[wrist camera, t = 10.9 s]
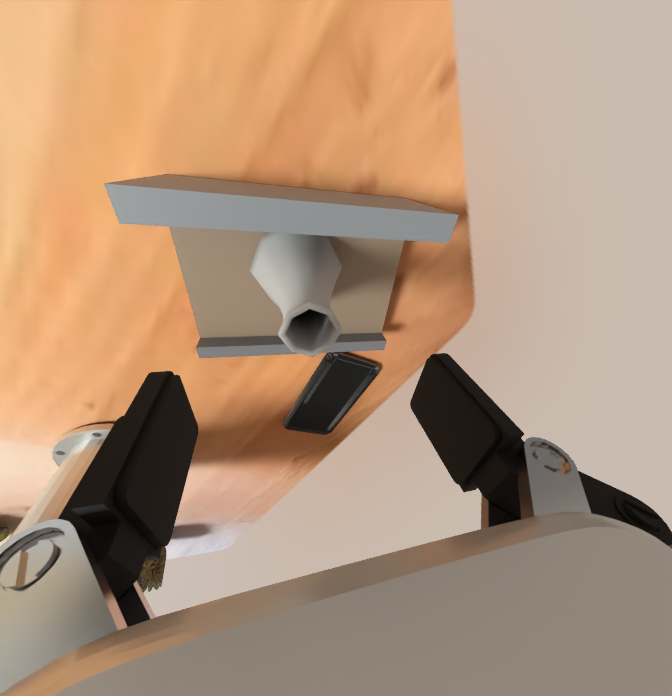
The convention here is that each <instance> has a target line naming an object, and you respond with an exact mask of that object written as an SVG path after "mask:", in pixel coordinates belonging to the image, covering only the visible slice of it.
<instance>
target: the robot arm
mask: <svg viewBox="0 0 672 696" xmlns="http://www.w3.org/2000/svg"><path fill="white" fill-rule="evenodd" d="M410 404H411V409H412V411H413V412H414V414H415V416H416V418H417V419H418V421H419V423H420V424H421V426H422V428H423V429H424V431H425V432H426V435H427V436H428V438H429V440H430V441H431V443H432V445H433V446H434V448H435V449H436V451H437V453H438V455H439V457H440V458H441V460H442V462H443V463H444V465H445V467H446V468H447V470H448V472H449V473H450V475H451V477H452V479H453V480H454V481H455V482H456V483H457V484H459V485H460V487H461V488H462V490H463V492H467V491H472V490H476V489H477V488H479V490H480V492H481V493H482V503H481V529H480V530H477V531H473V532H469V533H465V534H461V535H458V536H453V537H450V538H446V539H442V540H438V541H434V542H431V543H427V544H423V545H419V546H415V547H411V548H408V549H404V550H400V551H396V552H392V553H389V554H385V555H381V556H377V557H374V558H370V559H366V560H362V561H359V562H355V563H351V564H347V565H343V566H340V567H336V568H332V569H328V570H325V571H321V572H317V573H313V574H310V575H306V576H302V577H299V578H295V579H291V580H288V581H284V582H280V583H276V584H273V585H269V586H265V587H261V588H258V589H254V590H250V591H247V592H243V593H240V594H236V595H232V596H228V597H225V598H221V599H218V600H214V601H211V602H208V603H204V604H201V605H198V606H194V607H190V608H187V609H183V610H180V611H177V612H173V613H170V614H166V615H163V616H159V617H155V615H154V613H153V612H152V610H151V607H150V605H149V604H148V602H147V600H146V598H145V596H144V594H143V592H142V590H141V588H140V586H139V584H138V582H137V580H138V579H139V577H140V574H141V570H142V567H143V564H144V562H147V561H152V560H156V559H159V557H160V554H161V550H162V547H164V546H167V545H168V543H169V541H170V539H171V535H172V532H173V528H174V524H175V520H176V516H177V513H178V509H179V505H180V501H181V497H182V493H183V490H184V486H185V482H186V478H187V474H188V470H189V467H190V463H191V459H192V455H193V451H194V447H195V444H196V440H197V436H198V425H197V422H196V419H195V417H194V414H193V411H192V409H191V406H190V403H189V400H188V398H187V395H186V392H185V389H184V387H183V384H182V381H181V378H180V376H179V375H174V374H173V372H172V371H165V372H151V373H149V374H148V376H147V377H146V379H145V381H144V383H143V384H142V386H141V388H140V389H139V391H138V393H137V395H136V396H135V398H134V400H133V402H132V403H131V405H130V407H129V409H128V410H127V412H126V414H125V416H122V417H120V418H119V419H118V420H117V421H116V422H115V423H114V424H110V423H107V424H94V425H88V426H83V427H80V428H77V429H74V430H72V431H70V432H68V433H66V434H65V435H63V436H62V437H61V438H60V439H59V441H58V442H57V443H56V445H55V446H54V447H53V450H52V457H53V460H54V461H55V463H56V464H57V465H58V466H59V468H58V469H57V471H56V472H55V474H54V475H53V476H52V478H51V479H50V481H49V482H48V484H47V485H46V487H45V488H44V489H43V491H42V492H41V494H40V495H39V497H38V498H37V500H36V501H35V502H34V504H33V505H32V507H31V508H30V510H29V511H28V512H27V514H26V515H25V517H24V518H23V520H22V521H21V523H20V524H19V525H18V527H17V528H16V530H15V531H14V533H13V534H12V535H11V537H10V538H9V540H8V541H7V542H5V543H4V544H3V545H1V546H0V696H672V532H671V531H670V529H669V527H668V526H667V524H666V523H665V522H664V521H663V520H662V518H661V517H660V516H659V515H658V514H657V513H656V512H655V511H654V510H653V509H651V508H650V507H649V506H647V505H646V504H644V503H643V502H642V501H640V500H638V499H637V498H635V497H633V496H631V495H629V494H627V493H625V492H623V491H620V490H618V489H616V488H614V487H612V486H610V485H607V484H605V483H603V482H601V481H599V480H597V479H594V478H592V477H590V476H588V475H586V474H584V473H582V472H580V471H578V470H577V467H576V465H575V463H574V461H573V460H572V459H571V458H570V457H569V455H568V454H567V453H565V452H564V451H563V450H562V449H561V448H559V447H558V446H556V445H555V444H553V443H551V442H549V441H547V440H545V439H541V438H536V437H531V438H528V439H527V440H526V441H525V442H524V441H523V440H522V439H521V437H522V436H523V435H524V433H523V432H522V431H521V430H520V429H519V428H518V427H517V426H516V425H515V424H514V422H513V421H511V419H510V418H509V417H508V416H507V415H506V414H505V413H504V412H503V411H502V410H501V409H500V408H499V407H498V406H497V405H496V404H495V403H494V402H493V401H492V399H491V398H490V397H489V396H488V395H487V394H486V393H485V392H484V391H483V390H482V389H481V388H480V387H479V386H478V385H477V384H476V383H475V382H474V381H473V380H472V379H471V378H470V377H469V375H468V374H467V373H466V372H465V371H464V370H463V369H462V368H461V367H460V366H459V365H458V364H457V363H456V362H455V361H454V360H453V359H452V358H451V357H450V356H449V355H448V354H445V353H442V354H432V355H431V356H430V358H428V359H427V361H426V363H425V366H424V369H423V371H422V374H421V376H420V379H419V381H418V384H417V386H416V389H415V392H414V394H413V397H412V399H411V403H410Z"/></svg>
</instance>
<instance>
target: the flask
mask: <svg viewBox="0 0 672 696" xmlns="http://www.w3.org/2000/svg"><path fill="white" fill-rule="evenodd" d="M341 269H342V264H341V262H340V259H339V257H338V255H337V253H336V251H335V249H334V247H333V244H332V242H331V240H330V238H329V236H322V235H305V234H289V233H272V232H267V233H265V234H264V235H262V236H261V237H260V240H259V243H258V246H257V249H256V252H255V255H254V259H253V262H252V265H251V268H250V272H251V273H252V275H253V276H254V277H255V279H256V280H257V281H258V283H259V284H260V285H261V287H262V288H263V289H264V291H265V292H266V293H267V295H268V296H269V297H270V299H271V300H272V301H273V302H274V303H275V304H276V305H278V306H279V308H280V310H281V312H282V314H283V323H282V325H281V327H280V330H279V332H278V336H279V337H280V338H281V339H282V340H283V342H284V343H285V344H286V345H287V347H288V348H289V349H290V350H291V351H292V352H295V353H299V354H303V355H306V356H310V357H314V356H316V355H318V354H320V353H322V352H324V351H326V350H327V349H329V348H331V347H332V346H333V345H334V343H335V341H336V340H337V338H338V336H339V335H340V333H341V331H342V326H341V325H340V323H339V321H338V319H337V318H336V316H335V314H334V312H333V311H332V309H331V295H332V292H333V289H334V286H335V283H336V281H337V278H338V276H339V274H340V272H341Z"/></svg>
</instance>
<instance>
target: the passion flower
mask: <svg viewBox="0 0 672 696" xmlns="http://www.w3.org/2000/svg"><path fill="white" fill-rule="evenodd" d="M8 535H9V531H7V528H5V529H4V530H3V531H1V532H0V542H1V541H2V540H4V539H5V538H6V537H7V536H8Z"/></svg>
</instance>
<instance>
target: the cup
mask: <svg viewBox="0 0 672 696" xmlns="http://www.w3.org/2000/svg"><path fill="white" fill-rule="evenodd" d="M165 561H166V548H165V546H164V547H162V550H161V554H160V557H159V559H156V560H152V561H147V562H144V564H143V567H142V570H141V574H140V577H139V579H138V580H137V582H138V584H139V586H140V588H141V590H142V592H144V591H145V590H146V589H147V586H148V591H149V592H150V591H151V589H152V587H154V588H155V589H156V590H157V589H158V588H159V586H160V587H161V585H162V579H163V573H164V567H165Z"/></svg>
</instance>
